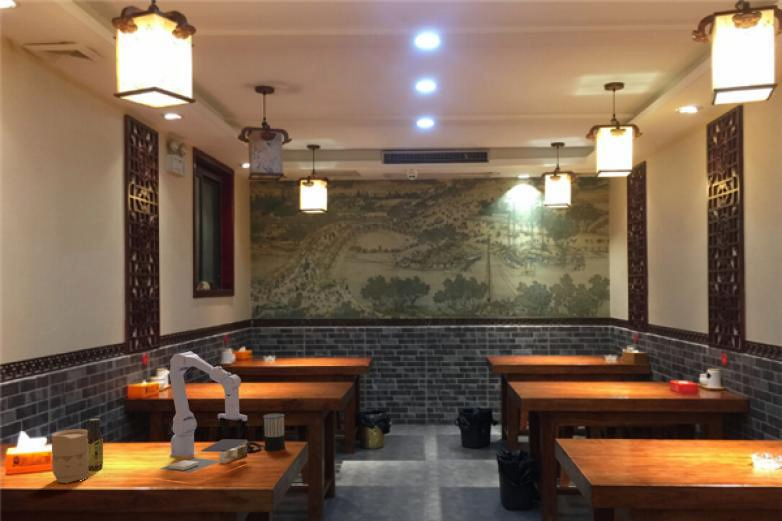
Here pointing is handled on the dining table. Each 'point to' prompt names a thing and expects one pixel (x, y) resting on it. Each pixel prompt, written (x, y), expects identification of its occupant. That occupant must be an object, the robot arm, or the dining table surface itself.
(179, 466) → the tile
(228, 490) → the dining table surface
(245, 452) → the long wooden beam
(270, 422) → the milk frother
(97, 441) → the sauce bottle
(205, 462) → the slate mat
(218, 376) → the robot arm
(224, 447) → the notebook
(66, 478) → the container
